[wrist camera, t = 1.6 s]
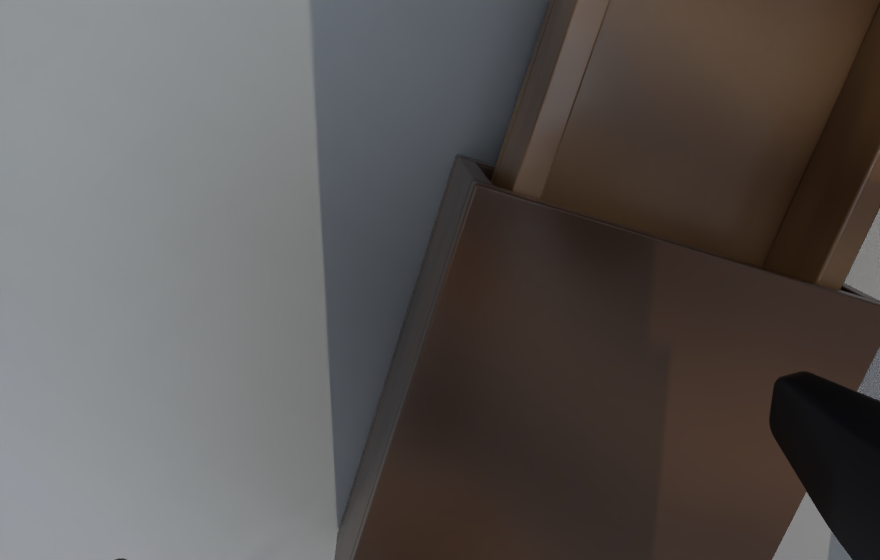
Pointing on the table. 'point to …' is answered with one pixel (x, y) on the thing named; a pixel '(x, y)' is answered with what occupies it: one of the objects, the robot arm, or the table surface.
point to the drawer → (709, 124)
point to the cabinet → (589, 392)
